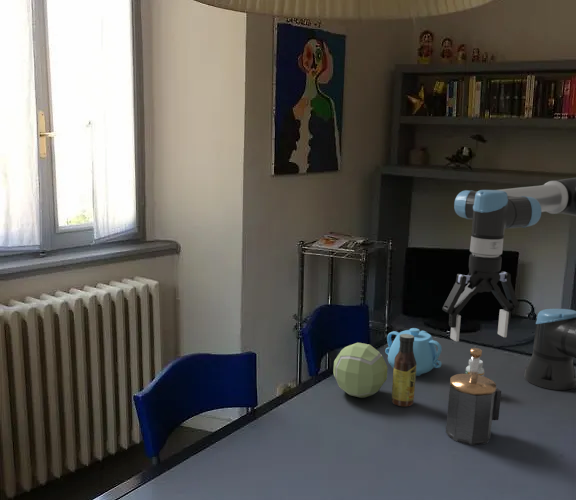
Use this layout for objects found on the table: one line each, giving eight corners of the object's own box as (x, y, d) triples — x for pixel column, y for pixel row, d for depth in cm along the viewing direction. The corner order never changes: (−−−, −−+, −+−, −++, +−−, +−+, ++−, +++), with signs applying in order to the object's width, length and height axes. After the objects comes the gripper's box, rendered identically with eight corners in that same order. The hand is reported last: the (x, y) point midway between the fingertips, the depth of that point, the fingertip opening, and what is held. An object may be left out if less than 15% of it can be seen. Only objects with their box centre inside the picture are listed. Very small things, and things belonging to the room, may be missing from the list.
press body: (483, 421, 170) (487, 376, 168) (507, 440, 160) (513, 392, 158) (438, 426, 166) (442, 380, 164) (460, 446, 156) (465, 397, 154)
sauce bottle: (413, 409, 176) (418, 341, 173) (390, 406, 178) (395, 338, 174) (413, 399, 183) (418, 333, 179) (391, 397, 184) (396, 331, 180)
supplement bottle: (486, 393, 189) (489, 363, 187) (471, 395, 187) (474, 365, 185) (474, 386, 194) (477, 356, 192) (460, 388, 192) (463, 358, 190)
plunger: (475, 416, 169) (482, 341, 165) (500, 436, 159) (509, 356, 155) (437, 420, 166) (444, 343, 162) (461, 441, 156) (469, 359, 152)
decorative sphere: (343, 380, 195) (346, 333, 192) (390, 390, 188) (394, 342, 186) (325, 398, 181) (327, 348, 178) (375, 409, 175) (379, 358, 172)
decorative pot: (382, 359, 214) (384, 320, 211) (429, 360, 215) (432, 321, 212) (391, 378, 198) (394, 337, 195) (442, 379, 199) (446, 337, 196)
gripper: (448, 259, 147) (441, 346, 151) (539, 255, 154) (530, 338, 158) (432, 252, 154) (426, 336, 158) (519, 249, 161) (512, 329, 165)
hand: (478, 337), depth 158 cm, fingers open, 13 cm apart
